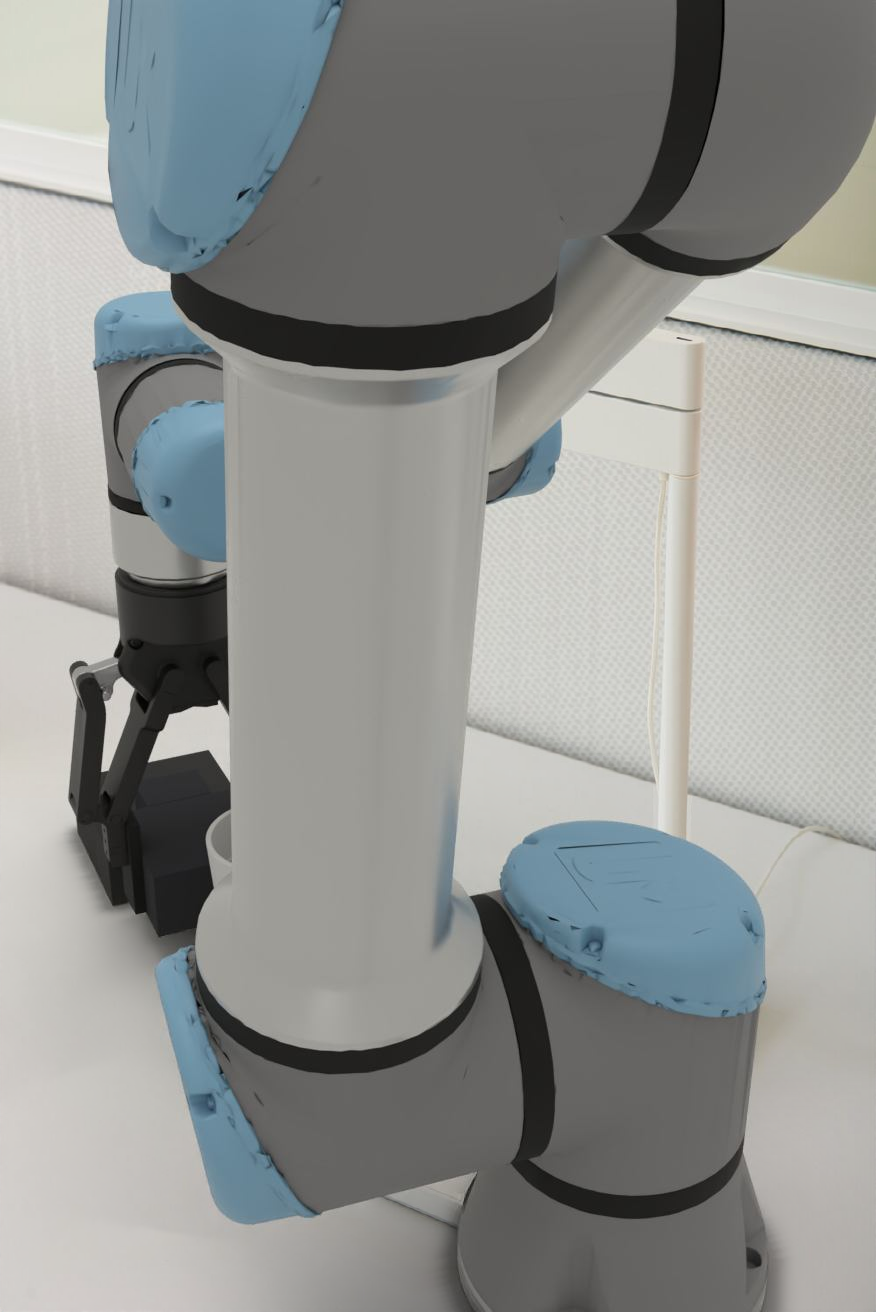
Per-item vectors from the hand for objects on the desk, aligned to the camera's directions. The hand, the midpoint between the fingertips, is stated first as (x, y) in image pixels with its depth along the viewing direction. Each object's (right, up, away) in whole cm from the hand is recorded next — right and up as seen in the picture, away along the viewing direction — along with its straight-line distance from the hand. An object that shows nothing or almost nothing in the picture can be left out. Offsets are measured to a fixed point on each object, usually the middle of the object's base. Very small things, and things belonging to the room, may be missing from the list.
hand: (201, 885), depth 105 cm
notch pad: (-4, +1, +9) cm, 10 cm away
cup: (+6, -6, -6) cm, 10 cm away
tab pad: (-1, 0, +2) cm, 2 cm away
